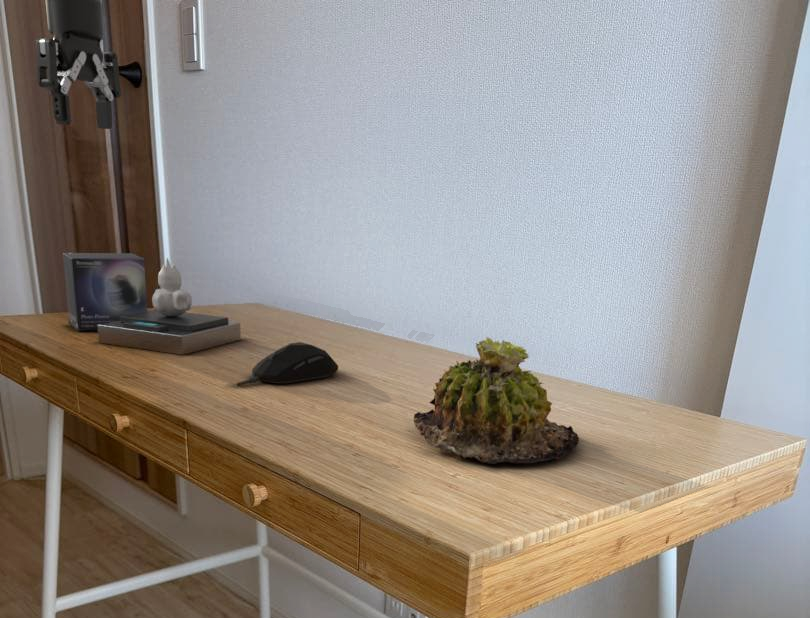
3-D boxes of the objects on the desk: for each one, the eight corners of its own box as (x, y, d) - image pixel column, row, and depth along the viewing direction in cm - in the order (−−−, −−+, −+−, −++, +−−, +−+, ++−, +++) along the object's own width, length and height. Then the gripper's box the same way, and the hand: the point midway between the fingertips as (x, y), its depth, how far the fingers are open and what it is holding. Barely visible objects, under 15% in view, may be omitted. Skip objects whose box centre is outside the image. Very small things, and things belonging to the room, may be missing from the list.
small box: (78, 332, 121) (70, 257, 117) (68, 325, 126) (60, 252, 122) (150, 329, 127) (145, 256, 122) (138, 322, 132) (133, 252, 127)
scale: (98, 342, 115) (96, 319, 114) (162, 329, 127) (161, 308, 126) (183, 355, 110) (181, 330, 109) (240, 339, 122) (240, 317, 121)
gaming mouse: (221, 381, 98) (219, 346, 96) (313, 365, 108) (314, 334, 106) (255, 391, 94) (254, 356, 92) (348, 374, 104) (348, 342, 103)
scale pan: (120, 322, 117) (119, 316, 116) (160, 314, 124) (160, 309, 124) (191, 331, 113) (191, 325, 112) (228, 323, 120) (228, 317, 120)
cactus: (601, 470, 74) (617, 360, 70) (422, 467, 72) (429, 354, 68) (552, 418, 89) (563, 326, 86) (405, 414, 88) (409, 320, 84)
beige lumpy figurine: (179, 312, 122) (176, 255, 119) (202, 319, 118) (200, 259, 115) (145, 314, 119) (140, 255, 115) (167, 321, 114) (164, 260, 111)
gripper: (88, 8, 124) (98, 129, 130) (13, -13, 112) (28, 121, 118) (129, 8, 121) (137, 131, 128) (57, -14, 109) (69, 123, 116)
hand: (84, 126), depth 123 cm, fingers open, 8 cm apart
